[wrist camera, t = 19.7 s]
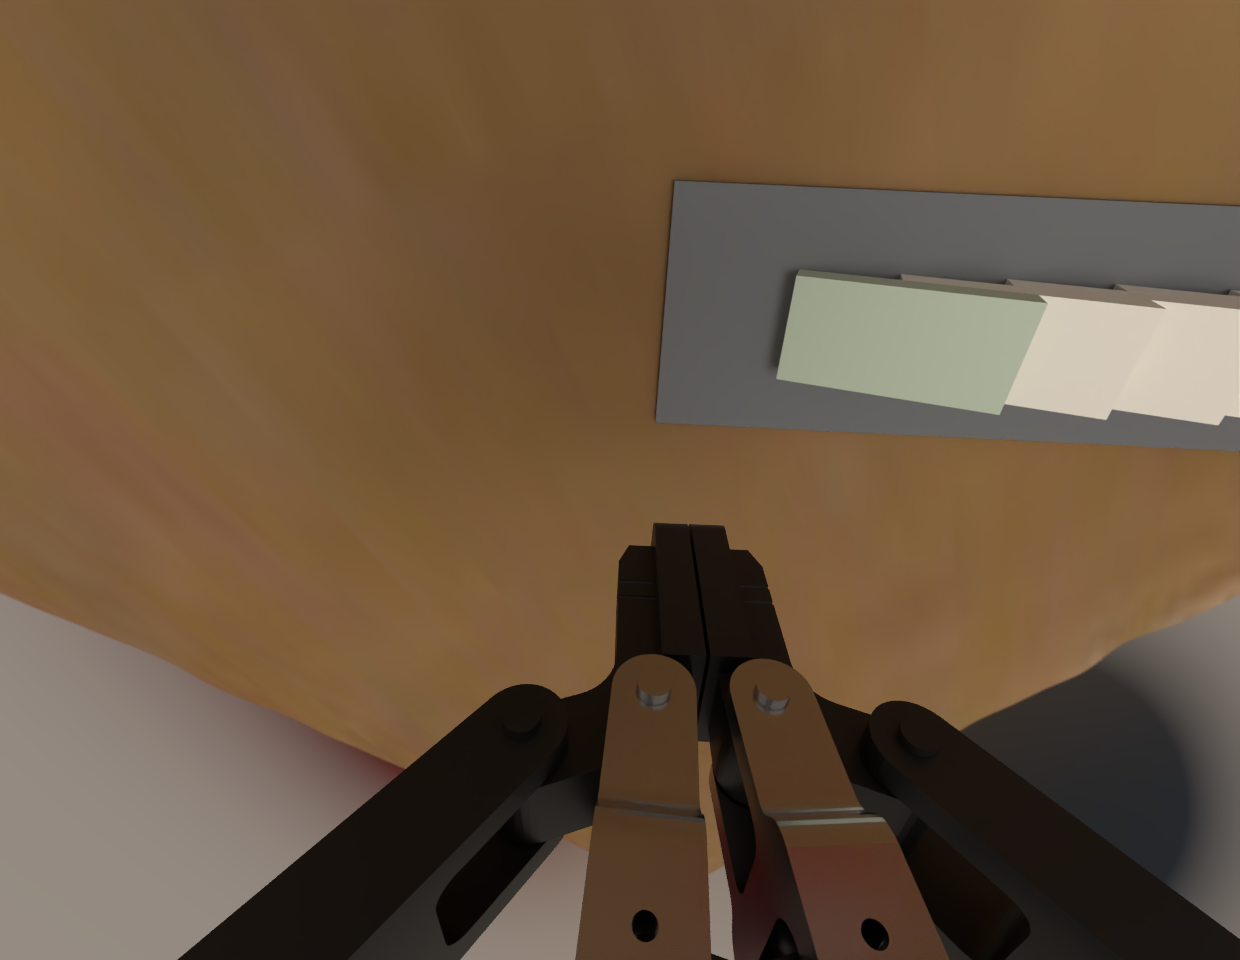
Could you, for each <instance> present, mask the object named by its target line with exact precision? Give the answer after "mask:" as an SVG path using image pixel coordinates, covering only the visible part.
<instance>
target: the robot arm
mask: <svg viewBox="0 0 1240 960" xmlns="http://www.w3.org/2000/svg"><path fill="white" fill-rule="evenodd" d="M698 741H704V742H710V748H711V756H712V764H711V769H710V773H709V788H710V793H711V798H712V803H713V808H714V814H715V819H716V824H717V829H718V834H719V840H720V845H721V850H722V855H723V860H724V865H725V870H726V876H727V880H728V886H729V891H730V897H731V905H732V941H733V951H734V959H735V960H1240V939H1239V938H1237V937H1236V936H1235V935H1233V934H1232V933H1231V932H1229V931H1228V930H1227V929H1225V928H1224V927H1222V926H1221V925H1220V924H1219V923H1217V922H1216V921H1215V920H1213V919H1212V918H1210V917H1209V916H1208V915H1206V914H1205V913H1204V912H1202V911H1201V910H1200V909H1198V908H1197V907H1196V906H1194V905H1193V904H1191V903H1190V902H1189V901H1188V900H1186V899H1185V898H1184V897H1182V896H1181V895H1179V894H1178V893H1177V892H1175V891H1174V890H1173V889H1171V888H1170V887H1169V886H1167V885H1166V884H1165V883H1163V882H1162V881H1161V880H1159V879H1158V878H1156V877H1155V876H1154V875H1153V874H1151V873H1150V872H1148V871H1147V870H1146V869H1144V868H1143V867H1142V866H1140V865H1139V864H1138V863H1136V862H1135V861H1134V860H1132V859H1131V858H1130V857H1128V856H1127V855H1125V854H1124V853H1123V852H1122V851H1120V850H1119V849H1117V848H1116V847H1115V846H1113V845H1112V844H1111V843H1109V842H1108V841H1106V840H1105V839H1104V838H1103V837H1101V836H1100V835H1099V834H1097V833H1096V832H1095V831H1093V830H1092V829H1090V828H1089V827H1088V826H1086V825H1085V824H1084V823H1082V822H1081V821H1080V820H1078V819H1077V818H1075V817H1074V816H1073V815H1072V814H1070V813H1069V812H1068V811H1066V810H1065V809H1064V808H1062V807H1061V806H1059V805H1058V804H1057V803H1055V802H1054V801H1053V800H1051V799H1050V798H1049V797H1047V796H1046V795H1045V794H1043V793H1042V792H1040V791H1039V790H1038V789H1037V788H1035V787H1034V786H1033V785H1031V784H1030V783H1028V782H1027V781H1026V780H1024V779H1023V778H1022V777H1020V776H1019V775H1018V774H1016V773H1015V772H1014V771H1012V770H1011V769H1010V768H1008V767H1007V766H1006V765H1004V764H1003V763H1001V762H1000V761H999V760H997V759H996V758H995V757H993V756H992V755H991V754H989V753H988V752H987V751H985V750H984V749H983V748H981V747H980V746H978V745H977V744H976V743H975V742H973V741H972V740H970V739H969V738H968V737H966V736H965V735H964V734H962V733H961V732H960V731H958V730H957V729H956V728H954V727H953V726H952V725H950V724H949V723H948V722H946V721H945V720H944V719H942V718H941V717H939V716H938V715H936V714H935V713H933V712H932V711H930V710H928V709H926V708H924V707H922V706H920V705H917V704H914V703H910V702H905V701H889V702H885V703H883V704H881V705H879V706H878V707H876V708H875V710H874V711H873V712H872V714H871V715H870V714H867V713H864V712H861V711H858V710H855V709H852V708H848V707H845V706H842V705H839V704H836V703H834V702H831V701H829V700H827V699H825V698H823V697H821V696H819V695H818V694H816V693H815V692H813V690H812V688H811V686H810V685H809V683H808V682H807V680H806V679H805V678H804V677H803V676H802V675H801V674H800V673H799V672H797V671H796V670H795V669H793V667H792V665H791V662H790V659H789V655H788V652H787V648H786V645H785V642H784V638H783V635H782V632H781V628H780V625H779V622H778V618H777V615H776V611H775V608H774V605H772V598H771V595H770V591H769V589H768V584H767V581H766V578H765V574H764V571H763V568H762V566H761V565H760V564H759V563H758V561H757V560H756V559H755V558H754V557H753V556H752V555H751V553H750V552H749V551H748V550H730V548H729V544H728V540H727V536H726V531H725V528H724V526H718V525H694V524H690V525H689V526H688V525H687V524H668V523H654V524H653V531H652V542H651V546H632V545H629V546H628V548H627V549H626V551H625V553H624V554H623V556H622V557H621V559H620V560H619V570H618V589H617V608H616V638H615V665H614V668H613V669H612V671H611V673H610V674H609V676H608V677H607V678H606V679H605V680H604V681H603V682H602V683H601V684H600V685H598V686H597V687H595V688H593V689H591V690H589V691H587V692H584V693H581V694H577V695H573V696H570V697H566V698H562V699H560V698H559V697H558V696H557V695H556V694H555V693H554V692H552V691H551V690H549V689H547V688H545V687H542V686H539V685H533V684H520V685H516V686H512V687H509V688H506V689H504V690H502V691H500V692H498V693H497V694H496V695H494V696H493V697H492V698H490V699H489V700H488V701H487V702H486V703H484V704H483V705H482V706H481V707H480V708H478V709H477V710H476V711H475V712H474V713H472V714H471V715H470V716H469V717H468V718H466V719H465V720H464V721H463V722H462V723H460V724H459V725H458V726H457V727H456V728H454V729H453V730H452V731H451V732H450V733H448V734H447V735H446V736H445V737H444V738H442V739H441V740H440V741H439V742H438V743H436V744H435V745H434V746H433V747H432V748H430V749H429V750H428V751H427V752H426V753H424V754H423V755H422V756H421V757H420V758H418V759H417V760H416V761H415V762H414V763H413V764H411V765H410V766H409V767H408V768H407V769H405V770H404V771H403V772H402V773H401V774H399V775H398V776H397V777H396V778H395V779H393V780H392V781H391V782H390V783H389V784H387V785H386V786H385V787H384V788H383V789H381V790H380V791H379V792H378V793H377V794H375V795H374V796H373V797H372V798H371V799H370V800H368V801H367V802H366V803H365V804H363V805H362V806H361V807H360V808H359V809H357V810H356V811H355V812H354V813H353V814H351V815H350V816H349V817H348V818H347V819H346V820H344V821H343V822H342V823H341V824H339V825H338V826H337V827H336V828H335V829H333V830H332V831H331V832H330V833H329V834H327V836H325V837H324V838H323V839H321V840H320V841H319V842H318V843H317V844H316V845H314V846H313V847H312V848H311V849H310V850H308V851H307V852H306V853H305V854H304V855H302V856H301V857H300V858H299V859H298V860H296V861H295V862H294V863H293V864H292V865H290V866H289V867H288V868H287V869H286V870H284V871H283V872H282V873H281V874H280V875H278V876H277V877H276V878H275V879H274V880H272V881H271V882H270V883H269V884H268V885H266V886H265V887H264V888H263V889H262V890H260V891H259V892H258V893H257V894H256V895H255V896H253V897H252V898H251V899H250V900H249V901H247V902H246V903H245V904H244V905H242V906H241V907H240V908H239V909H238V910H236V911H235V912H234V913H233V914H232V915H231V916H229V917H228V918H227V919H226V920H225V921H223V922H222V923H221V924H220V925H218V926H217V927H216V928H215V929H214V930H212V931H211V932H210V933H209V934H208V935H206V936H205V937H204V938H203V939H202V940H201V941H200V942H198V943H197V944H196V945H195V946H193V947H192V948H191V949H190V950H189V951H187V952H186V953H185V954H184V955H183V956H181V957H180V958H179V959H178V960H460V959H461V958H462V957H463V956H464V954H465V953H466V952H467V951H468V950H469V949H470V947H471V946H472V945H473V944H474V943H475V941H476V940H477V939H478V938H479V936H481V934H482V933H483V932H484V931H485V930H486V928H487V927H488V926H489V925H490V924H491V923H492V921H493V920H494V919H495V918H496V917H497V916H498V914H499V913H500V912H501V911H502V910H503V909H504V907H505V906H506V905H507V904H508V903H509V901H510V900H511V899H512V898H513V897H514V895H515V894H516V893H517V892H518V891H519V890H520V888H521V887H522V886H523V885H524V884H525V883H526V881H527V880H528V879H529V878H530V876H532V874H533V873H534V872H535V871H536V869H537V868H538V867H539V866H540V865H541V864H542V863H543V861H544V860H545V859H546V858H547V857H548V855H549V854H550V853H551V852H552V851H553V850H554V848H555V847H556V846H557V845H558V844H559V842H560V841H561V839H562V838H563V836H564V835H565V834H568V833H571V832H574V831H577V830H580V829H583V828H586V827H589V826H592V832H591V840H590V848H589V856H588V865H587V872H586V880H585V888H584V896H583V903H582V911H581V920H580V927H579V935H578V943H577V951H576V958H575V960H728V959H724V958H722V957H719V956H716V955H714V954H711V940H710V912H709V885H708V857H707V834H706V824H705V818H704V815H703V814H701V811H700V800H699V766H698Z"/></svg>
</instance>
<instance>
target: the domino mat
mask: <svg viewBox="0 0 1240 960" xmlns="http://www.w3.org/2000/svg"><path fill="white" fill-rule="evenodd" d="M799 269H803V270H812V271H821V272H831V273H840V274H849V275H859V276H868V277H877V278H887V279H896V280H899V279H900V276H901V274H907V275H917V276H926V277H936V278H945V279H955V280H964V281H974V282H983V283H993V284H1002V285H1005V283H1006V280H1007V279H1013V280H1023V281H1033V282H1042V283H1052V284H1062V285H1072V286H1082V287H1091V288H1101V289H1111V290H1113V288H1114V286H1115V284H1121V285H1131V286H1141V287H1151V288H1161V289H1170V290H1180V291H1190V292H1200V293H1210V294H1220V295H1228V294H1229V292H1230V290H1236V291H1240V206H1232V205H1210V204H1188V203H1167V202H1145V201H1123V200H1101V199H1079V198H1058V197H1036V196H1014V195H992V194H970V193H948V192H927V191H905V190H883V189H861V188H839V187H818V186H796V185H774V184H752V183H730V182H709V181H687V180H674V190H673V203H672V216H671V228H670V241H669V253H668V266H667V279H666V291H665V304H664V317H663V329H662V342H661V355H660V367H659V380H658V392H657V405H656V418H655V420H656V423H674V424H695V425H715V426H736V427H756V428H777V429H797V430H818V431H838V432H859V433H879V434H900V435H920V436H941V437H961V438H982V439H1003V440H1023V441H1044V442H1064V443H1085V444H1105V445H1126V446H1146V447H1167V448H1187V449H1208V450H1228V451H1240V418H1239V417H1232V416H1226V415H1225V416H1224V418H1223V419H1222V421H1221V422H1220V424H1219V425H1212V424H1205V423H1199V422H1192V421H1185V420H1179V419H1172V418H1166V417H1159V416H1153V415H1146V414H1139V413H1133V412H1126V411H1120V410H1113V409H1112V410H1111V412H1110V414H1109V416H1108V418H1107V420H1103V419H1096V418H1090V417H1084V416H1077V415H1071V414H1065V413H1058V412H1052V411H1045V410H1039V409H1033V408H1026V407H1020V406H1014V405H1007V404H1004V406H1003V408H1002V411H1001V413H1000V415H996V414H990V413H984V412H977V411H971V410H965V409H959V408H953V407H946V406H940V405H934V404H928V403H922V402H915V401H909V400H903V399H897V398H891V397H884V396H878V395H872V394H866V393H860V392H853V391H847V390H841V389H835V388H829V387H822V386H816V385H810V384H804V383H798V382H791V381H785V380H779V379H776V378H777V372H778V367H779V362H780V357H781V352H782V347H783V342H784V337H785V331H786V326H787V321H788V316H789V311H790V306H791V301H792V296H793V291H794V285H795V280H796V275H797V273H798V271H799Z"/></svg>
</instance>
